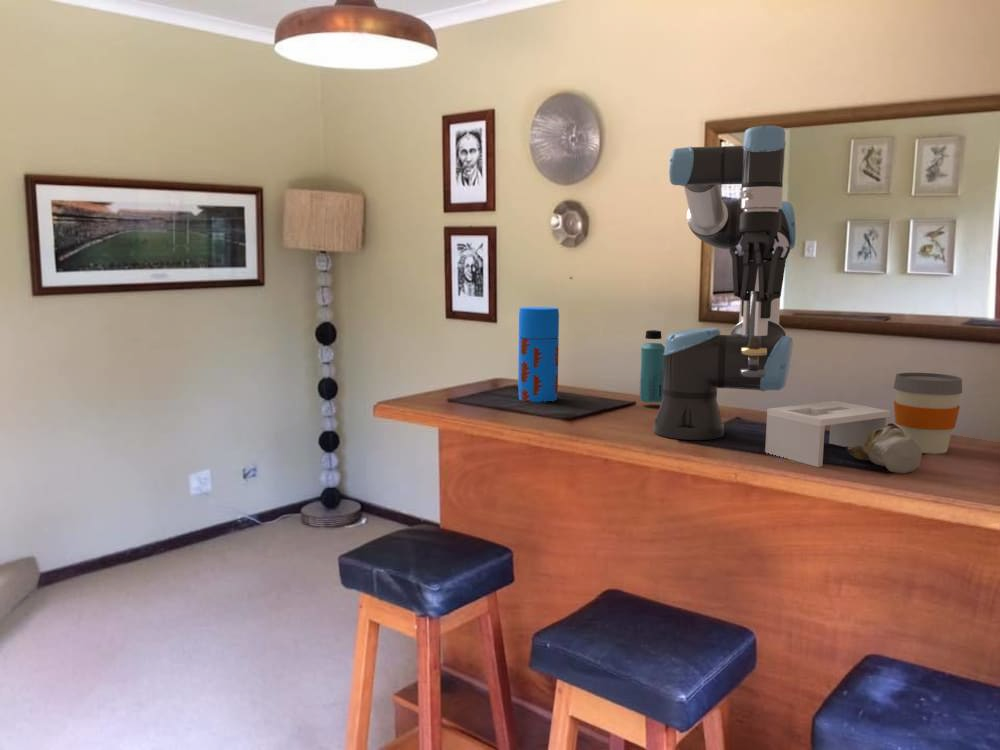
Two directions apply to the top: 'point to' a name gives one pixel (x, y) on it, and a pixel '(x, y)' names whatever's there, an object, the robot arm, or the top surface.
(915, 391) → the reusable coffee cup
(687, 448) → the top surface
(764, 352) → the peg with gold collar
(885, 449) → the ceramic sculpture
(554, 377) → the thermos
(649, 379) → the beverage bottle
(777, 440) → the keyhole bracket
